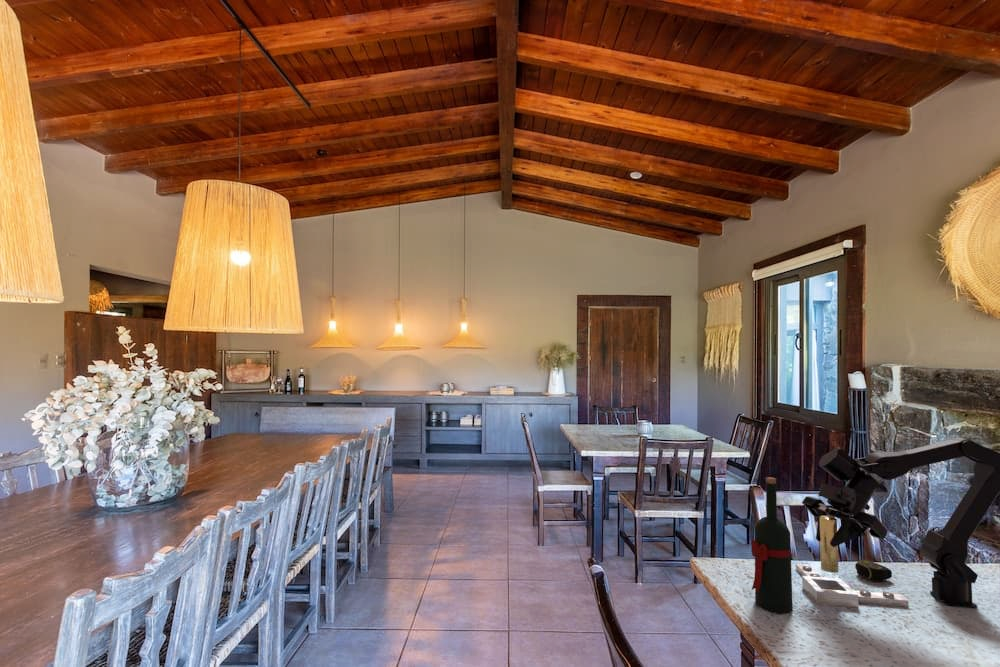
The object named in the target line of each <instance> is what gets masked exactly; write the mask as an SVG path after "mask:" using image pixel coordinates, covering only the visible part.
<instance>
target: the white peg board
mask: <svg viewBox="0 0 1000 667" xmlns="http://www.w3.org/2000/svg"><path fill="white" fill-rule="evenodd" d="M795 570H796V571H797V572H798V573H799V574H800V575H801V580H802V582H801V584H802V585H801V586H802V588H803V590H804V591H805V592H806V593H807V595H808V596H810V598H811V599H812V600H813V601H814V602H815V603H816V604H817V605H824V606H835V607H844V608H845V607H846V608H856V609H857V608H859V603H860V604H868V605H869V604H870V605H882V606H883V605H884V606H890V607H891V606H894V607H905V608H909V607H910V606H909V605H910V604H909V600H908V599H907V598H906V597H905V596H904V595H902V594H900V593H892V592H888V591H882V592H879V591H878V592H877V591H870V590H865V589H859V590H853V589H852V588H851V586H849V585H848V584H847V583H846V582H844V581H843V580H842V579H841V578H834V577H825V576H824V577H822V576H821V575H819V573H818V572H817V571H816V570H814V568H812V567H811V566H810V565H809V564H804V563H801V564H800V563H795Z"/></svg>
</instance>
